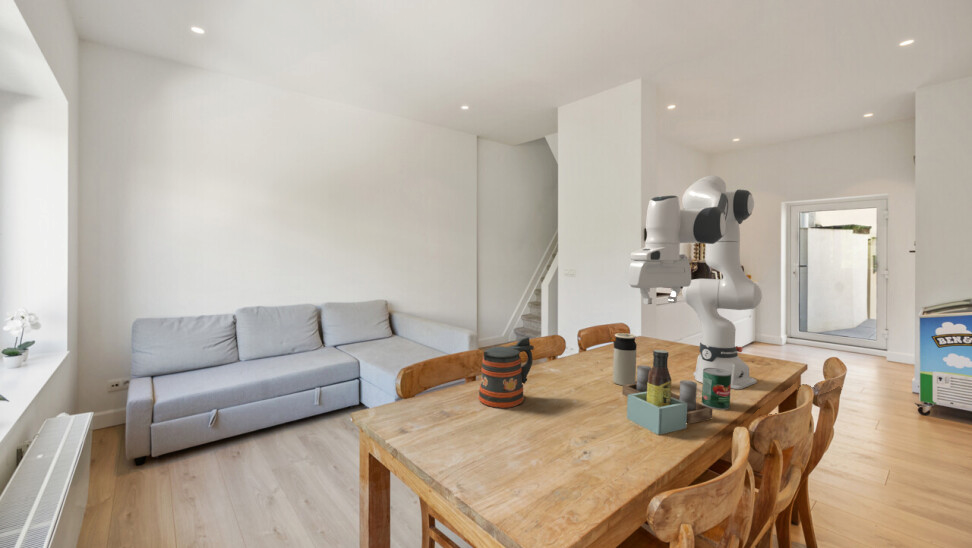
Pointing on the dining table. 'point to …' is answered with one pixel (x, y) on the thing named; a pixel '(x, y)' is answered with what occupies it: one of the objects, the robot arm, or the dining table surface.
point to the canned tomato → (716, 388)
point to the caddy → (656, 414)
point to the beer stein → (504, 375)
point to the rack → (673, 395)
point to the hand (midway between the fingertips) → (660, 303)
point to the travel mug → (624, 359)
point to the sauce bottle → (659, 380)
